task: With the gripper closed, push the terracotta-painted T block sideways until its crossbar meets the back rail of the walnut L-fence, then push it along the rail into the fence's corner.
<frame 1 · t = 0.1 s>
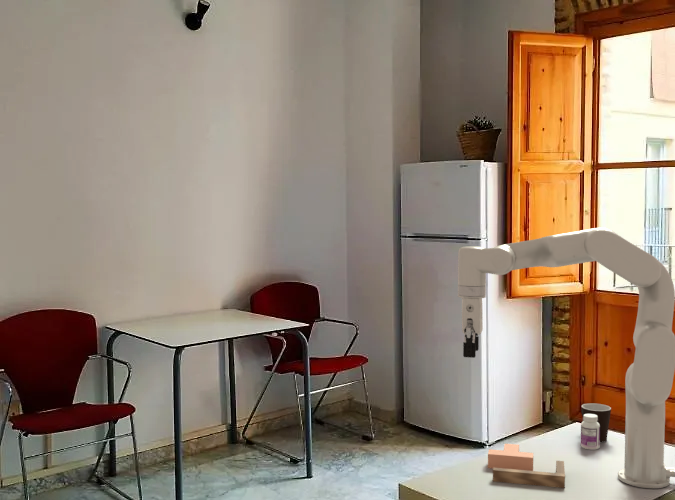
hand: (471, 353, 211), 31 cm above the table, tool pointing down, fingers open, 9 cm apart
walnut fence: (528, 475, 204), on the table
pill bottle: (589, 447, 228), on the table
coffee mug: (594, 438, 237), on the table
t block: (511, 463, 213), on the table
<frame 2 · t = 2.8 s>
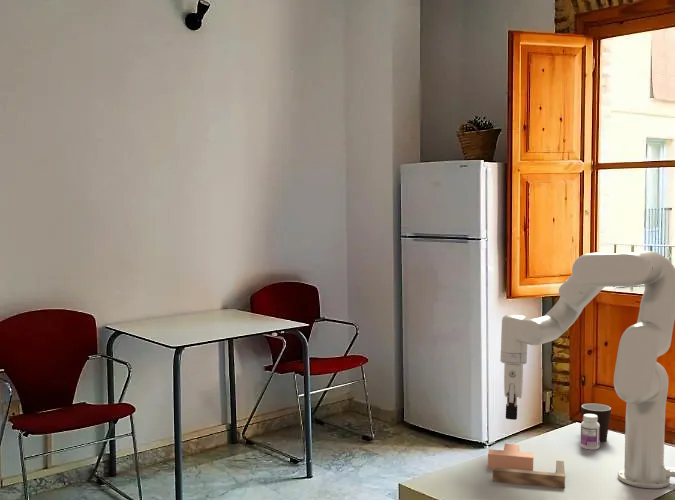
hand: (511, 418, 226), 9 cm above the table, tool pointing down, fingers closed
nothing on the table moved.
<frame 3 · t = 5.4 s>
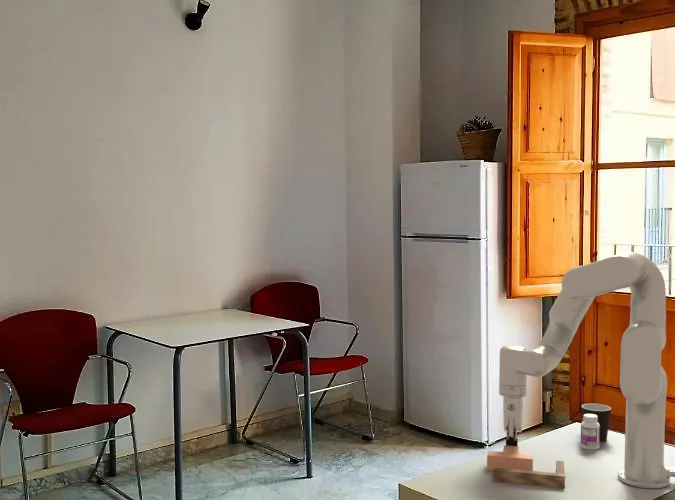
hand: (511, 452, 219), 1 cm above the table, tool pointing down, fingers closed
t block: (510, 465, 212), on the table, touching gripper
everything else where it was.
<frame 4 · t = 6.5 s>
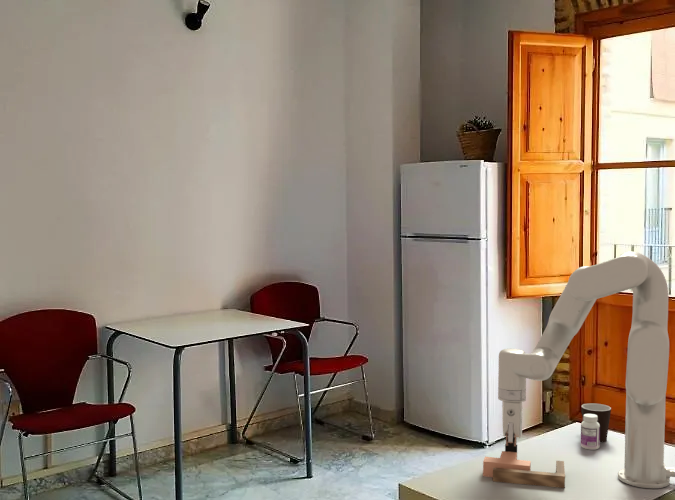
hand: (511, 458, 214), 1 cm above the table, tool pointing down, fingers closed
t block: (507, 472, 207), on the table, touching gripper
everything else where it was.
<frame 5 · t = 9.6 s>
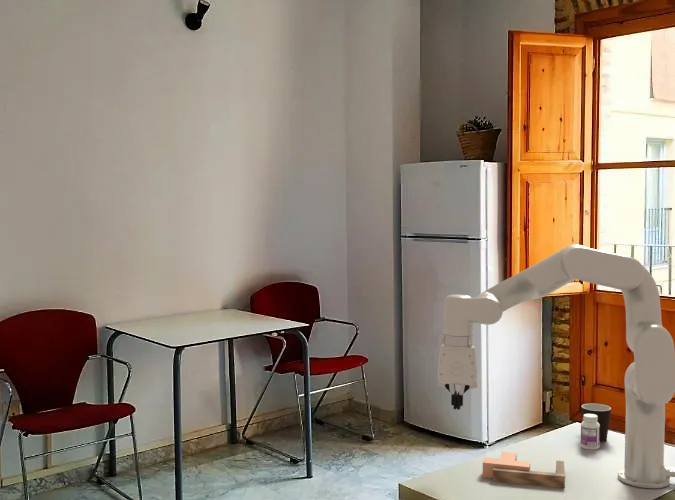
hand: (457, 408, 207), 17 cm above the table, tool pointing down, fingers closed
t block: (507, 473, 206), on the table
everything else where it was.
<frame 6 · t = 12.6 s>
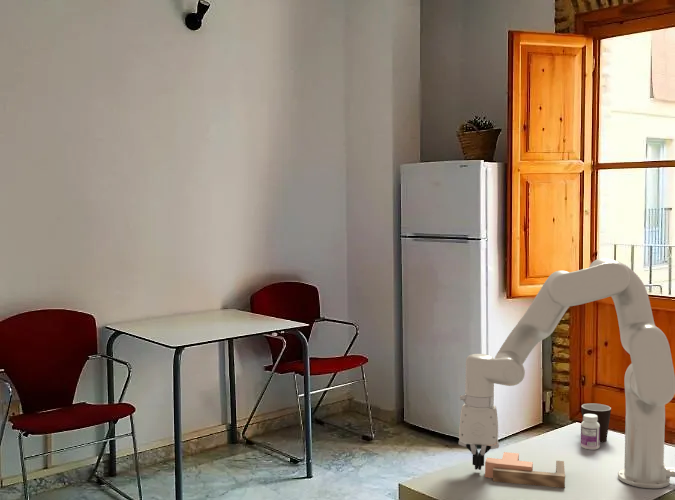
hand: (478, 467, 206), 1 cm above the table, tool pointing down, fingers closed
t block: (509, 473, 206), on the table, touching gripper
everything else where it was.
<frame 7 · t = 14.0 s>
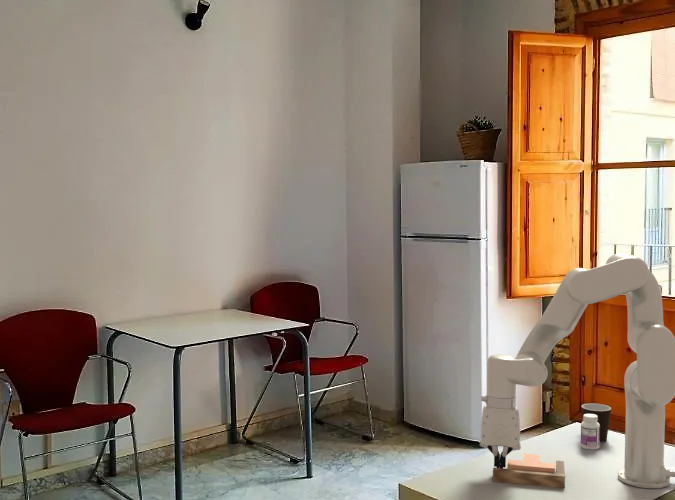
hand: (499, 469, 205), 1 cm above the table, tool pointing down, fingers closed
t block: (531, 474, 205), on the table, touching gripper
everything else where it was.
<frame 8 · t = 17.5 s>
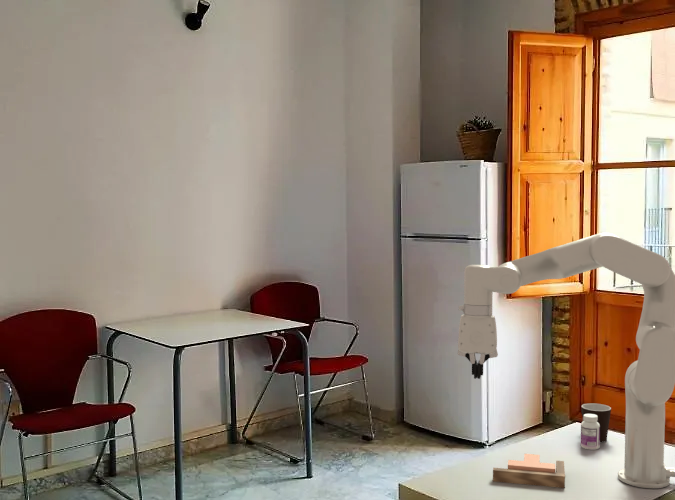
hand: (477, 377, 209), 25 cm above the table, tool pointing down, fingers closed
t block: (531, 475, 205), on the table
everything else where it was.
at the end: t block inside the target area (0.3 cm from its centre), on the table; t block tilted 1°; t block moved 9.4 cm from its start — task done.
